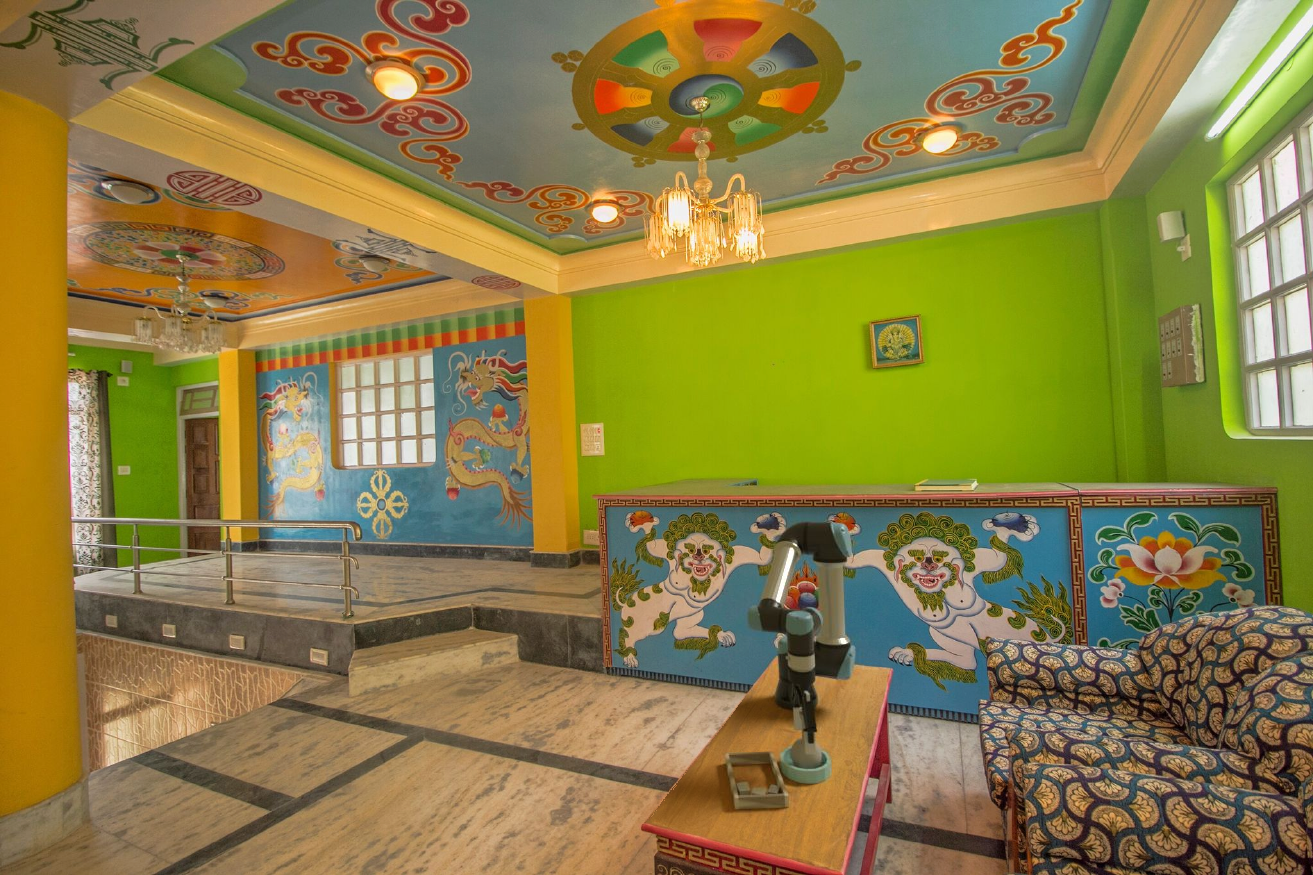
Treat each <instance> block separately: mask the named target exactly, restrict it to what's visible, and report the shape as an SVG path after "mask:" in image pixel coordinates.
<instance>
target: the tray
mask: <svg viewBox="0 0 1313 875" xmlns="http://www.w3.org/2000/svg"><path fill="white" fill-rule="evenodd" d="M724 755H725V757H724V759H725V766H726V772H727V776H728V782H729V785H730V786H729V787H730V791H731V795H732V801H733V806H734V809H735V810H752V809H756V810H757V809H776V808H777V809H778V808H779V809H780V808H789V807H790V795H789V792H788V791H787V787H786V785H785V781H784V778H783V777H782V772H781V771H780V768H779V766H778V763H777V760H776V758H775V755H774V752H773V750H772V751H771V750H770V751H751V752H750V751H749V752H729V753H728V752H726V753H724ZM763 764H764V765H765V764H766V765H767V764H769V765H770V767H771V771H772V773H773V775H774V778H775V782H776V784H777V786H780V794H768V793H767V794H761V795H752V794H751V795H738V793H737V788H736V781H735V775H734V771H733V766H737V765H739V766H740V765H741V766H742V765H746V766H747V765H763Z"/></svg>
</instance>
